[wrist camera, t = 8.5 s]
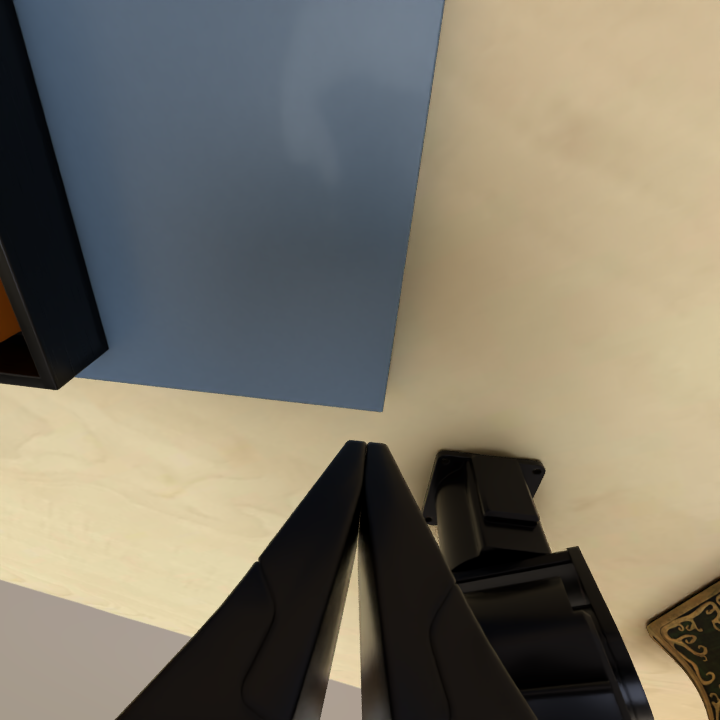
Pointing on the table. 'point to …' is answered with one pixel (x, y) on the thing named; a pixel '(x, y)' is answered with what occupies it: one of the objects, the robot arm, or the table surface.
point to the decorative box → (695, 643)
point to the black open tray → (37, 239)
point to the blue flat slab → (240, 183)
